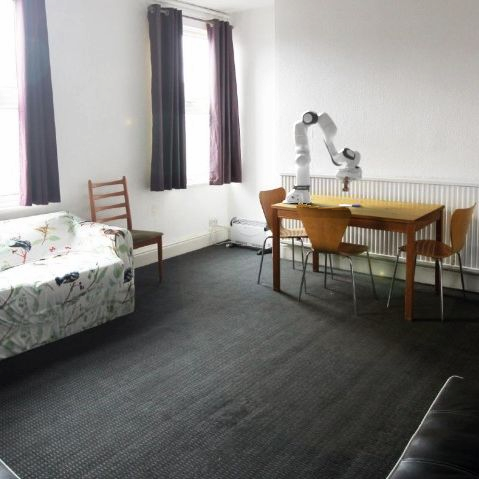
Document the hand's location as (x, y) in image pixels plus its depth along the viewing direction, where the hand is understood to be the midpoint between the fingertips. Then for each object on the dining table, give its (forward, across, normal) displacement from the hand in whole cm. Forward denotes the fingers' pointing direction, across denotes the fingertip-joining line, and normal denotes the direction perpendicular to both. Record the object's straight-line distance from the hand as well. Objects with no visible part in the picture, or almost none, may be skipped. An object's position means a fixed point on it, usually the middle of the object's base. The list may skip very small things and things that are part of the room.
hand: (345, 183), depth 432 cm
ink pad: (+10, +8, +13) cm, 19 cm away
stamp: (+4, 0, +5) cm, 6 cm away
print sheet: (+11, 0, +12) cm, 17 cm away
